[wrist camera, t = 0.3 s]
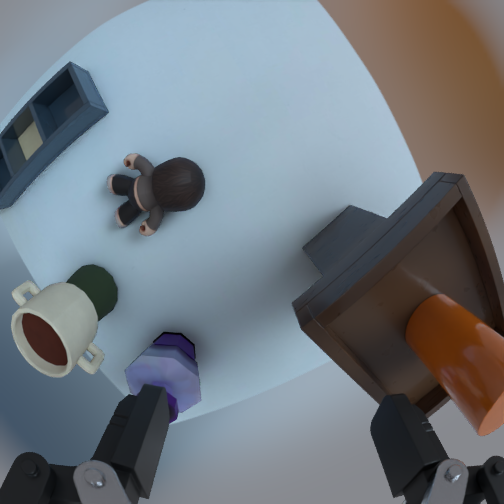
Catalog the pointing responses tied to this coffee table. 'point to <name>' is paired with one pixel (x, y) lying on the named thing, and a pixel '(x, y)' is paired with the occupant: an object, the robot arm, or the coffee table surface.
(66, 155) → the coffee table surface
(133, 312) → the coffee table surface
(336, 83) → the coffee table surface
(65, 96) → the three-compartment dish
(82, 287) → the character mug
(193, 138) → the coffee table surface
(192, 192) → the figurine
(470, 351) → the orange glossy cylinder
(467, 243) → the walnut tray stand
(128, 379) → the potion bottle
